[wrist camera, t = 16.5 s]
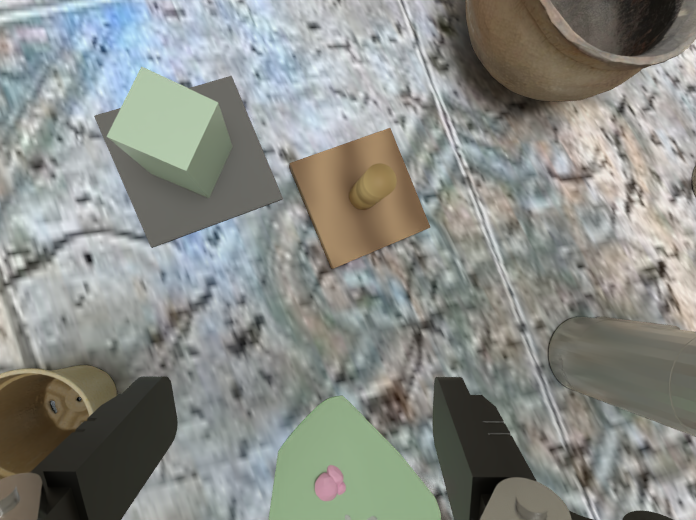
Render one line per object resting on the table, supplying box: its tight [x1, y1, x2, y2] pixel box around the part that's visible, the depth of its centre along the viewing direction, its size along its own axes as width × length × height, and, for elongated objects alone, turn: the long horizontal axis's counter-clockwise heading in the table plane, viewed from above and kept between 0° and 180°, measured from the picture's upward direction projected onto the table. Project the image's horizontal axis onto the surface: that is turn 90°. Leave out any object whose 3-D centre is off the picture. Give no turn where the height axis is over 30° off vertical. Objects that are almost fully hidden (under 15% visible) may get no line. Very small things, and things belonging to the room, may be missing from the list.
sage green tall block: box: [107, 67, 232, 198], centre depth 33 cm, size 6×6×10 cm
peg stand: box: [289, 128, 430, 269], centre depth 37 cm, size 12×12×8 cm
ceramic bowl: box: [465, 0, 696, 101], centre depth 39 cm, size 22×22×15 cm
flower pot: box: [0, 365, 117, 479], centre depth 31 cm, size 9×9×9 cm
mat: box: [94, 76, 283, 248], centre depth 38 cm, size 14×14×1 cm
